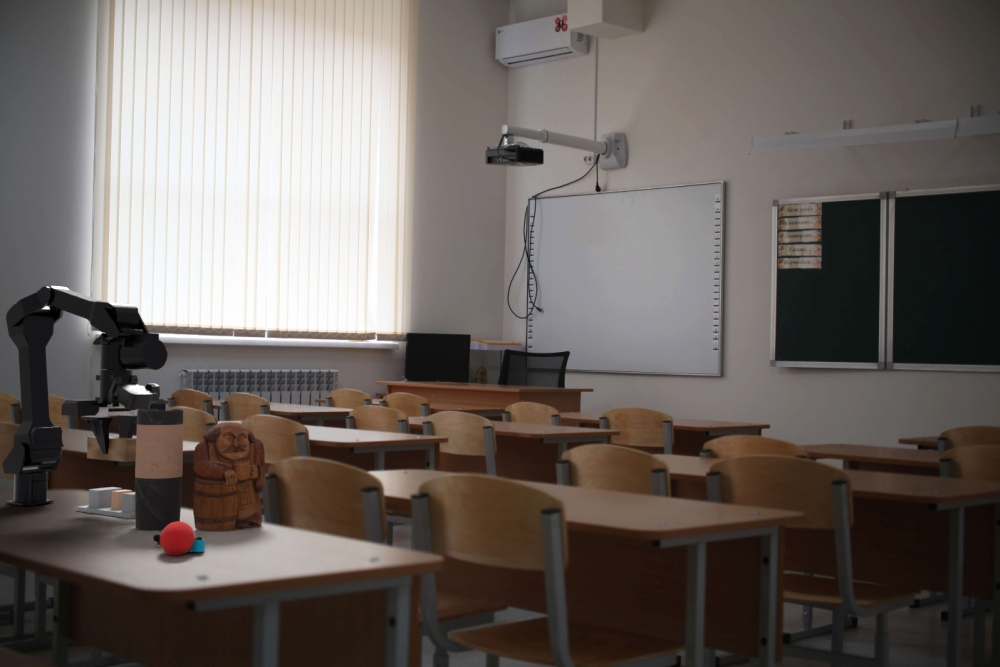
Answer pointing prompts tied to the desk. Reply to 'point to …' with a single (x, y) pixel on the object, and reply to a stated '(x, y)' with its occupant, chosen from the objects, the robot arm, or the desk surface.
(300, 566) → the desk surface
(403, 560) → the desk surface
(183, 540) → the toy figure
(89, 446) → the walnut bar
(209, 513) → the wooden figurine
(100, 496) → the pale grey flat fixture
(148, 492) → the travel mug
